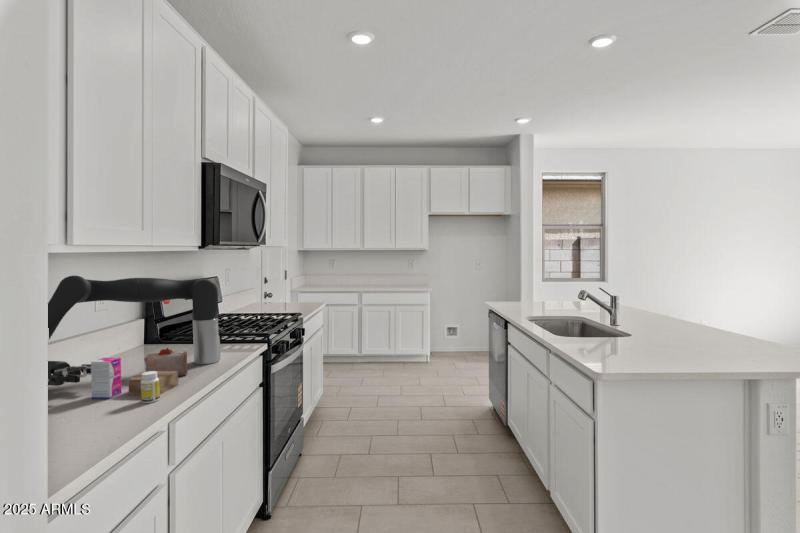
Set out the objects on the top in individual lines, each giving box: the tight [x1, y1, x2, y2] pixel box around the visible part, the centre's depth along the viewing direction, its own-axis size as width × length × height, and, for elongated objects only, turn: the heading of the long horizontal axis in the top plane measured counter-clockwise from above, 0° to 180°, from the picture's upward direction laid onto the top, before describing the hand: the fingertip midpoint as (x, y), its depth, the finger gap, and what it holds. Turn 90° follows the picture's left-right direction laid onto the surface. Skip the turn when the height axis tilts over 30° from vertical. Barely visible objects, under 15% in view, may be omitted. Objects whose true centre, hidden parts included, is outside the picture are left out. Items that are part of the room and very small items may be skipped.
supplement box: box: [90, 357, 122, 400], centre depth 138 cm, size 6×6×12 cm
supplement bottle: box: [140, 371, 161, 404], centre depth 133 cm, size 5×5×8 cm
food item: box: [143, 347, 188, 377], centre depth 160 cm, size 14×8×10 cm, turn 108°
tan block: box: [127, 371, 179, 396], centre depth 144 cm, size 10×10×5 cm
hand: (91, 374), depth 139 cm, fingers open, 8 cm apart
